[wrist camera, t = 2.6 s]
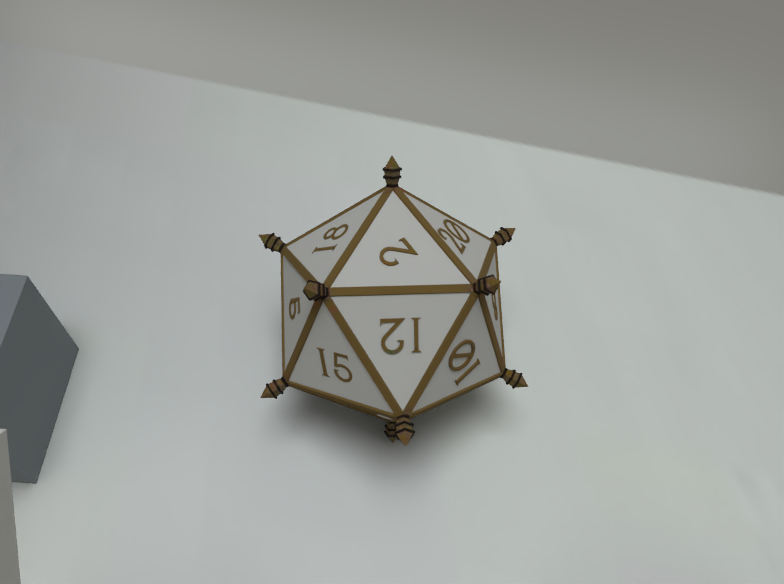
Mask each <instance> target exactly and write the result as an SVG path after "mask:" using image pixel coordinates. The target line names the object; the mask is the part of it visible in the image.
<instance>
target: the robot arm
mask: <svg viewBox="0 0 784 584" xmlns="http://www.w3.org/2000/svg"><path fill="white" fill-rule="evenodd" d="M0 584H21V583H20V572H19V561H18V550H17V539H16V528H15V517H14V506H13V495H12V484H11V473H10V462H9V451H8V440H7V429H0Z"/></svg>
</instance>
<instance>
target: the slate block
mask: <svg viewBox="0 0 784 584" xmlns="http://www.w3.org/2000/svg"><path fill="white" fill-rule="evenodd" d="M78 350H79V348H78V347H77V345H76V344H75V343H74V341H73V340H72V338H71V337H70V335H69V334H68V333H67V331H66V330H65V328H64V327H63V326H62V324H61V323H60V321H59V320H58V318H57V317H56V316H55V314H54V313H53V311H52V310H51V308H50V307H49V306H48V304H47V303H46V301H45V300H44V299H43V297H42V296H41V294H40V293H39V291H38V290H37V289H36V287H35V286H34V284H33V283H32V281H31V280H30V279H29V277H28V276H22V275H8V274H0V429H7V440H8V451H9V462H10V473H11V482H20V483H35V484H36V483H37V480H38V477H39V474H40V470H41V467H42V464H43V461H44V458H45V455H46V451H47V448H48V445H49V442H50V439H51V435H52V432H53V429H54V426H55V423H56V420H57V416H58V413H59V410H60V407H61V404H62V401H63V397H64V394H65V391H66V388H67V385H68V382H69V378H70V375H71V372H72V369H73V366H74V363H75V359H76V356H77V353H78Z"/></svg>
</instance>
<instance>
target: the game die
mask: <svg viewBox="0 0 784 584" xmlns="http://www.w3.org/2000/svg"><path fill="white" fill-rule="evenodd" d="M400 170H402V168H400V167H399V166H398V164H397V163H396V161H395V159H394V158H393V156H391V158H390V160H389V161H388V163H387V165H386V166H385V167H384V168H383V171H384V172H385V175H384V176H383V178H385V180H386V183H387V185H386V186H385V187H384V188H382V189H380V190H379V191H377V192H375V193H373V194H372V195H370V196H368V197H366V198H365V199H363V200H361V201H360V202H358V203H356V204H354V205H353V206H351V207H349V208H348V209H346V210H344V211H342V212H341V213H339V214H337V215H335V216H334V217H332V218H330V219H329V220H327V221H325V222H323V223H322V224H320V225H318V226H317V227H315V228H313V229H311V230H310V231H308V232H306V233H305V234H303V235H301V236H299V237H298V238H296V239H294V240H292V241H291V242H289V243H287V244H285V243H283V242H282V241H281V239H280V238H281V237H276V236H275V235H274V234H275V233H272V234H265V235H259V237H260V238H261V240H262V241H263V243H264V246H265V248H266V249H267V248H269V249H271V251H272V252H273V251H277V252H280V253H281V301H282V366H283V376H282V378H281V379H278V380H273V382H272V383H270V384H268V383H267V384H266V385H267V386H266V388H265V390H264V392H263V394H262V396H261V398H275V399H277V396H278V395H279V394H283V391H284V390H285V388H286V387H288V386H290V387H293V388H296V389H299V390H301V391H304V392H307V393H310V394H313V395H316V396H318V397H321V398H324V399H327V400H330V401H332V402H335V403H338V404H341V405H344V406H346V407H349V408H352V409H355V410H358V411H360V412H363V413H366V414H369V415H372V416H375V417H377V418H380V419H383V420H386V421H388V422H387V424H386V425H385V428H386V430H385V431H384V433H385V434H386V435H387V437H389V438H390V439H391V441H392V442H394V440H395V439H396V437H397V439H398V440H401V442H402V443H403V444H404V445H405V446H407V444H408V442H409V440H410V439H411V438H412V436H413V435H414V433H415V431H413V429H412V427H413V426H414V424H412V423H411V422H410V420H409V419H411V418H413V417H416V416H418V415H420V414H422V413H424V412H426V411H429V410H431V409H433V408H435V407H437V406H439V405H441V404H444V403H446V402H448V401H450V400H452V399H454V398H457V397H459V396H461V395H463V394H465V393H467V392H469V391H472V390H474V389H476V388H478V387H480V386H482V385H485V384H487V383H489V382H491V381H493V380H495V379H497V378H503V379H504V380H505V381H506V384H507V385H508V384H510V385H511V386H512V388H513V389H514V388H515V387H528V385H527V384H526V382H525V380H524V378H523V376H522V373H517V372H515V371H516V370H508V369H507V368H505V354H504V340H503V326H502V312H501V299H500V285H499V284H500V283H501V281H499V271H498V257H497V246H499V245H502V246H503V245H504V244H505V243H506V242H507V241H508V242H510V241H511V239H512V238H511V237H512V235H513V233H514V231H515V229H516V228H502V227H501V228H500V229H501V230H499V231H498V232H497V231H495V235H494V236H493V237H492V238H488V237H487V236H485V235H483V234H481V233H480V232H478V231H476V230H474V229H473V228H471V227H469V226H467V225H465V224H464V223H462V222H460V221H458V220H457V219H455V218H453V217H451V216H450V215H448V214H446V213H444V212H443V211H441V210H439V209H437V208H436V207H434V206H432V205H430V204H428V203H427V202H425V201H423V200H421V199H420V198H418V197H416V196H414V195H413V194H411V193H409V192H407V191H406V190H404V189H402V188H400V187H398V181H399V178H401V176H400Z"/></svg>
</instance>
